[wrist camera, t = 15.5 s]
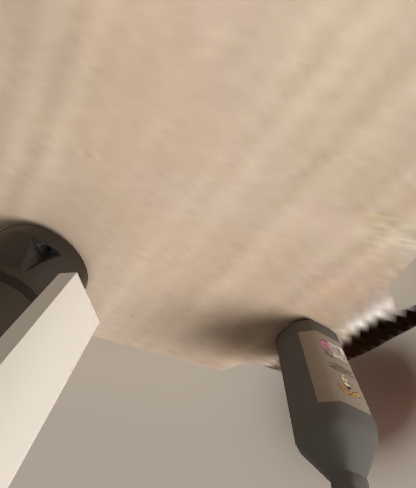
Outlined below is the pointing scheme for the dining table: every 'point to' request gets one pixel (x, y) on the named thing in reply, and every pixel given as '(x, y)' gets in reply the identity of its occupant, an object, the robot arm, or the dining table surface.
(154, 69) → the dining table surface
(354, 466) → the liquor
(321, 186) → the dining table surface
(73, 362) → the robot arm
